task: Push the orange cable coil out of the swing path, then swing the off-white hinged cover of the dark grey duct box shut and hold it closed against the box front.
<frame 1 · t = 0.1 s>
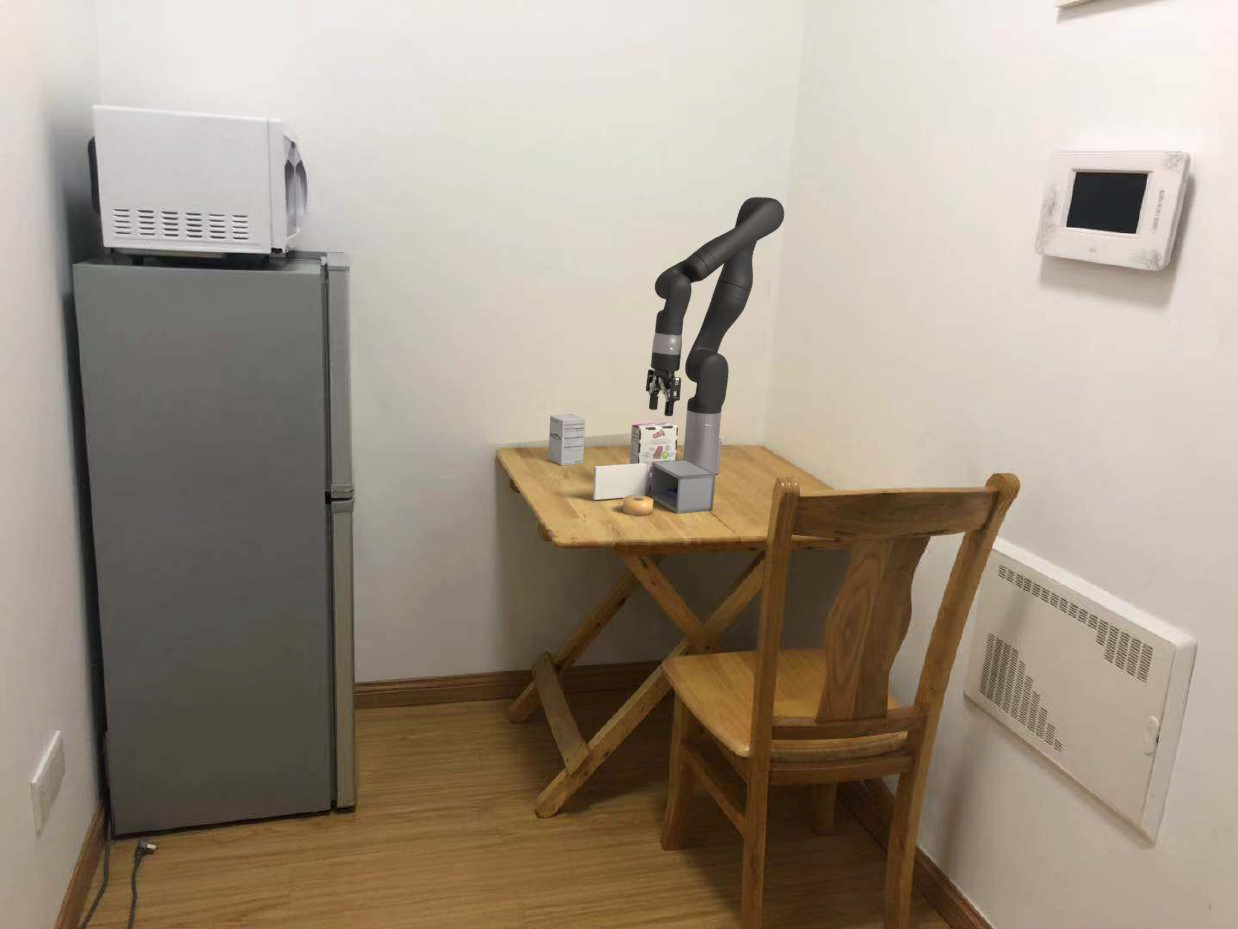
hand: (660, 412, 261), 17 cm above the table, tool pointing down, fingers open, 8 cm apart
cable coil: (637, 511, 232), on the table
duct box: (680, 503, 241), on the table
candy bar box: (651, 488, 254), on the table
cover: (622, 482, 241), point 4 cm above the table, hinge at 0.0°
supplement box: (565, 462, 275), on the table
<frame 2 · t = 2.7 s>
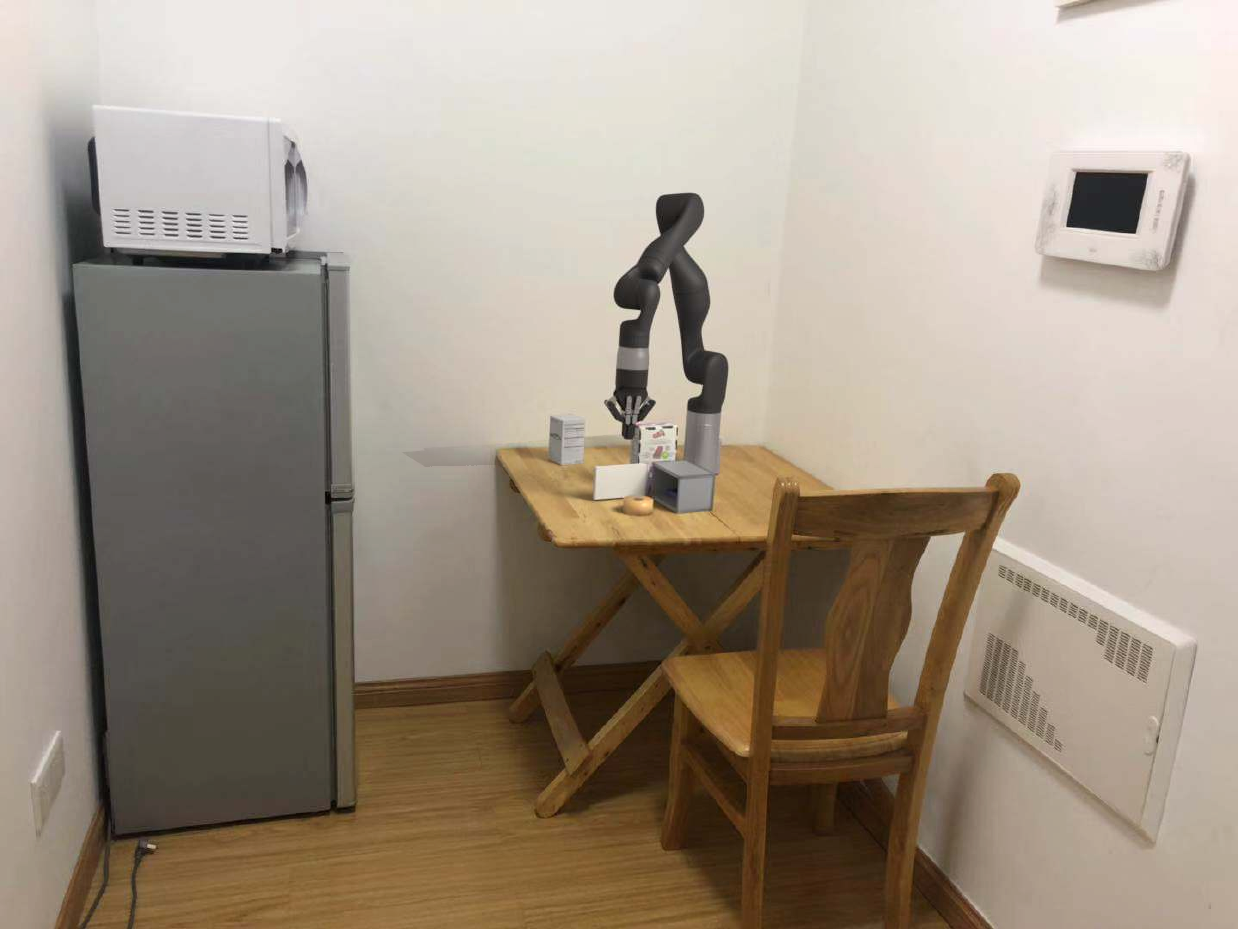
hand: (627, 438, 235), 16 cm above the table, tool pointing down, fingers closed
nothing on the table moved.
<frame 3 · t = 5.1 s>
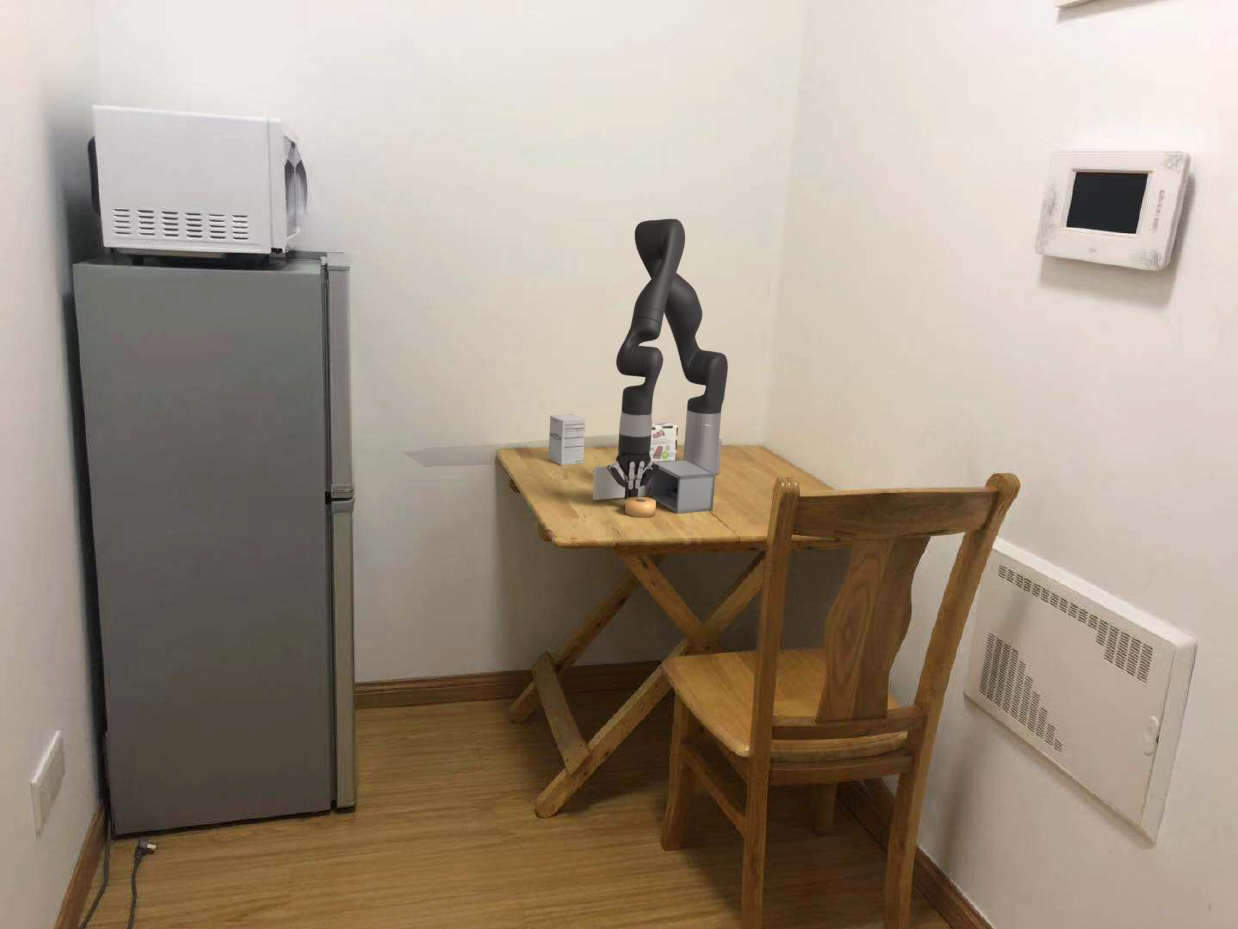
hand: (630, 503, 235), 1 cm above the table, tool pointing down, fingers closed
cable coil: (640, 513, 231), on the table
everything else where it was.
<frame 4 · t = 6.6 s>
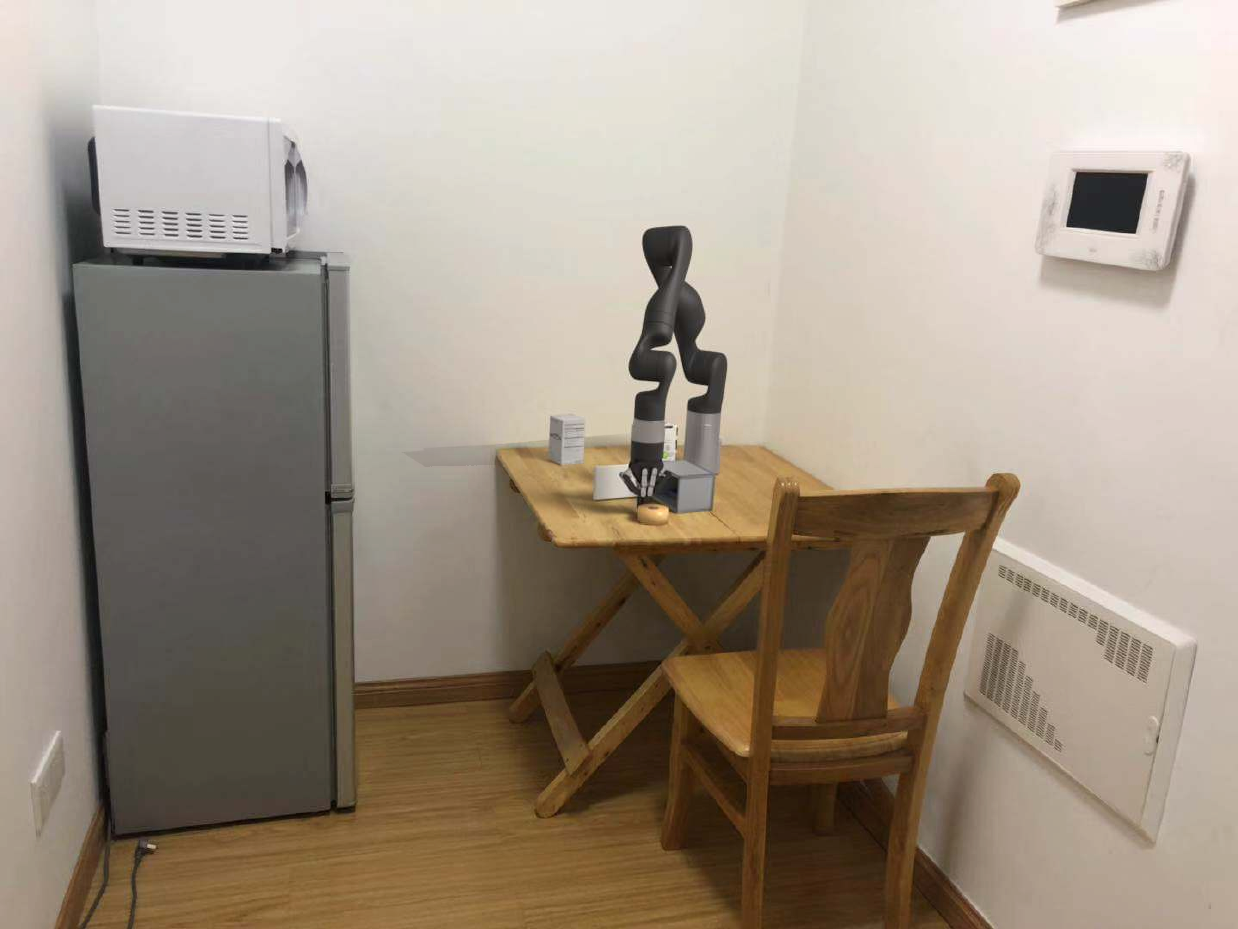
hand: (643, 510, 230), 1 cm above the table, tool pointing down, fingers closed
cable coil: (652, 520, 226), on the table, touching gripper
everything else where it was.
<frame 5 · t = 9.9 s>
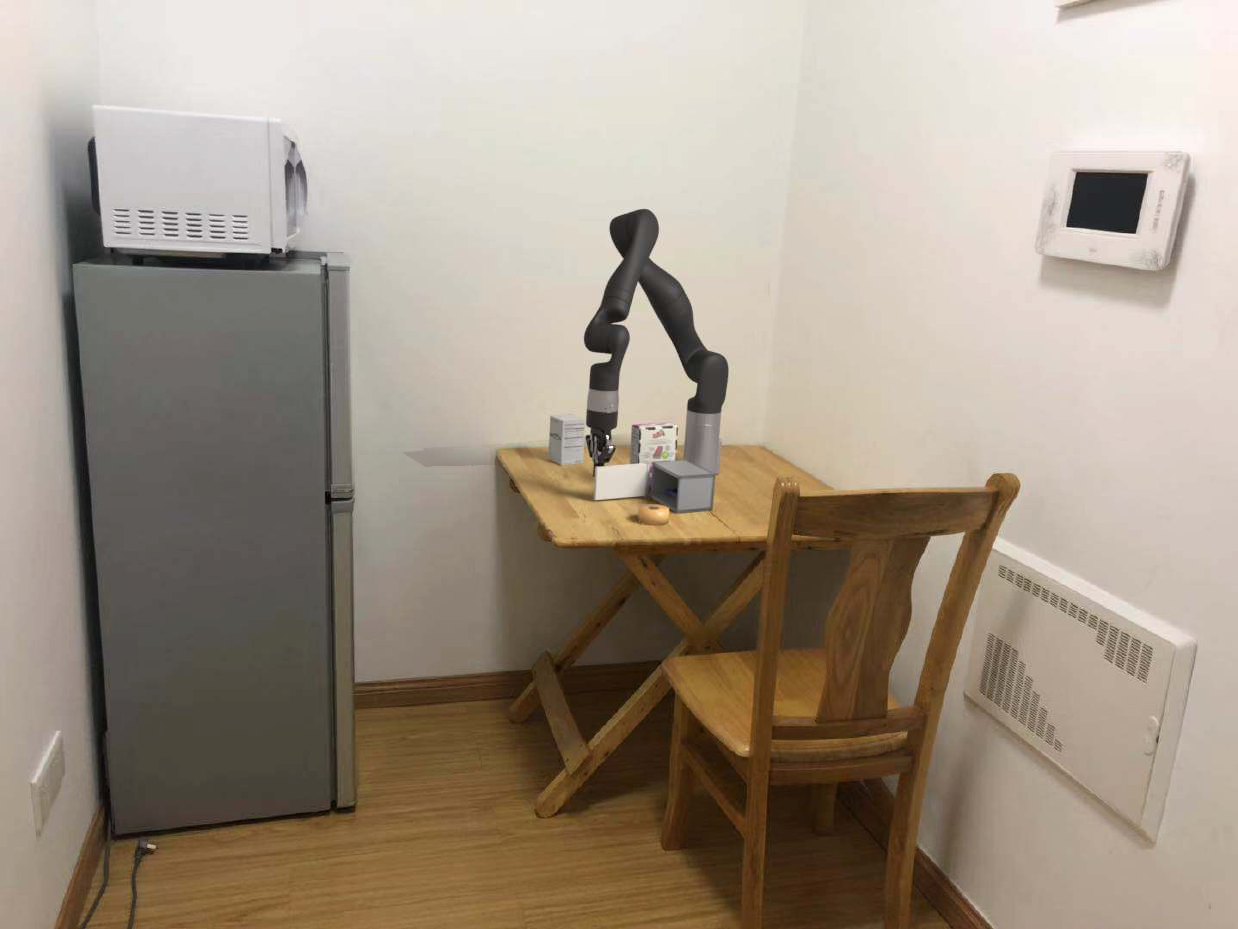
hand: (598, 477, 241), 5 cm above the table, tool pointing down, fingers closed
cable coil: (653, 521, 226), on the table
cover: (622, 482, 241), point 4 cm above the table, hinge at 1.5°, touching gripper
everything else where it was.
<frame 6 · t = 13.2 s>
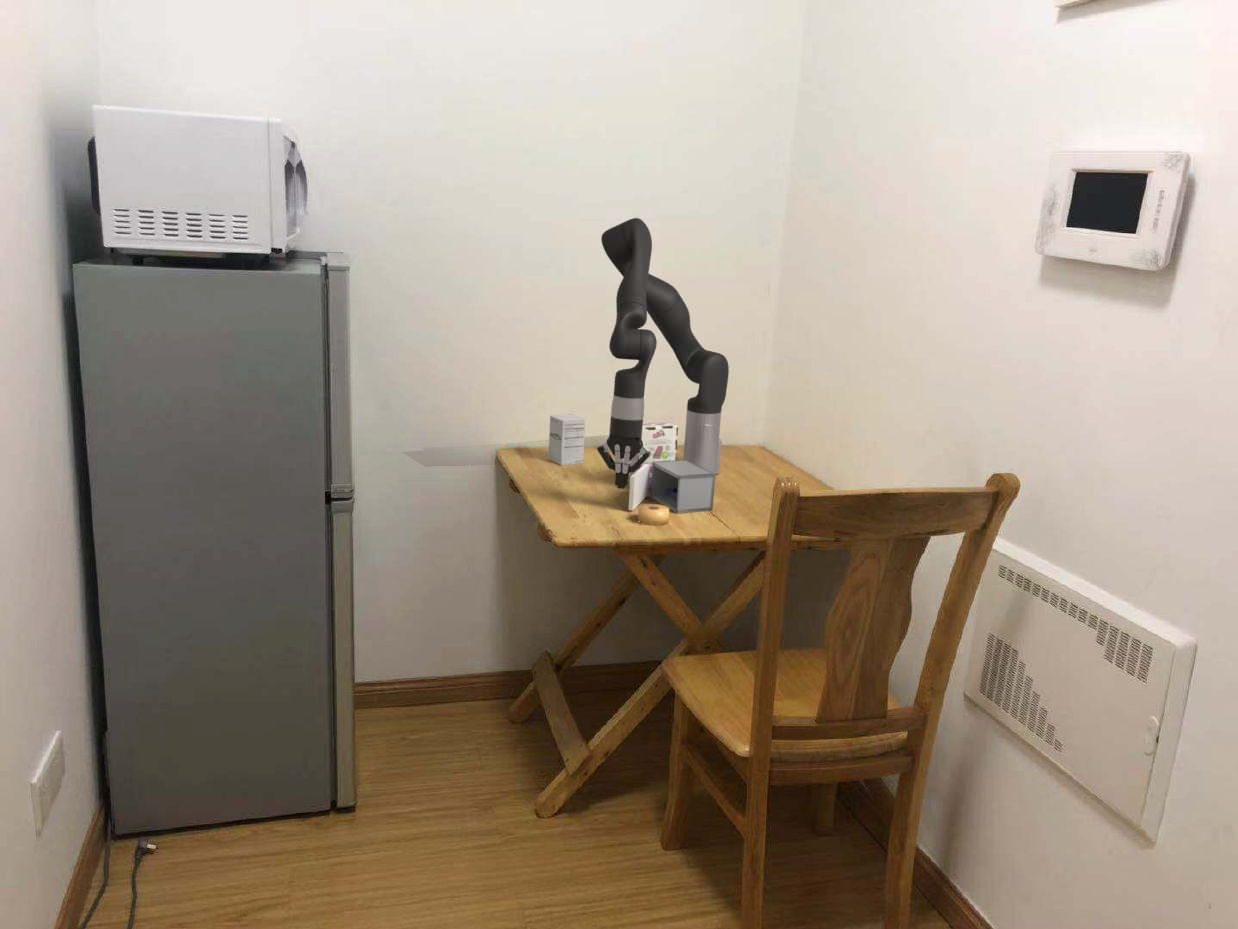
hand: (621, 487, 233), 5 cm above the table, tool pointing down, fingers closed
cover: (639, 486, 237), point 4 cm above the table, hinge at 48.3°, touching gripper
everything else where it was.
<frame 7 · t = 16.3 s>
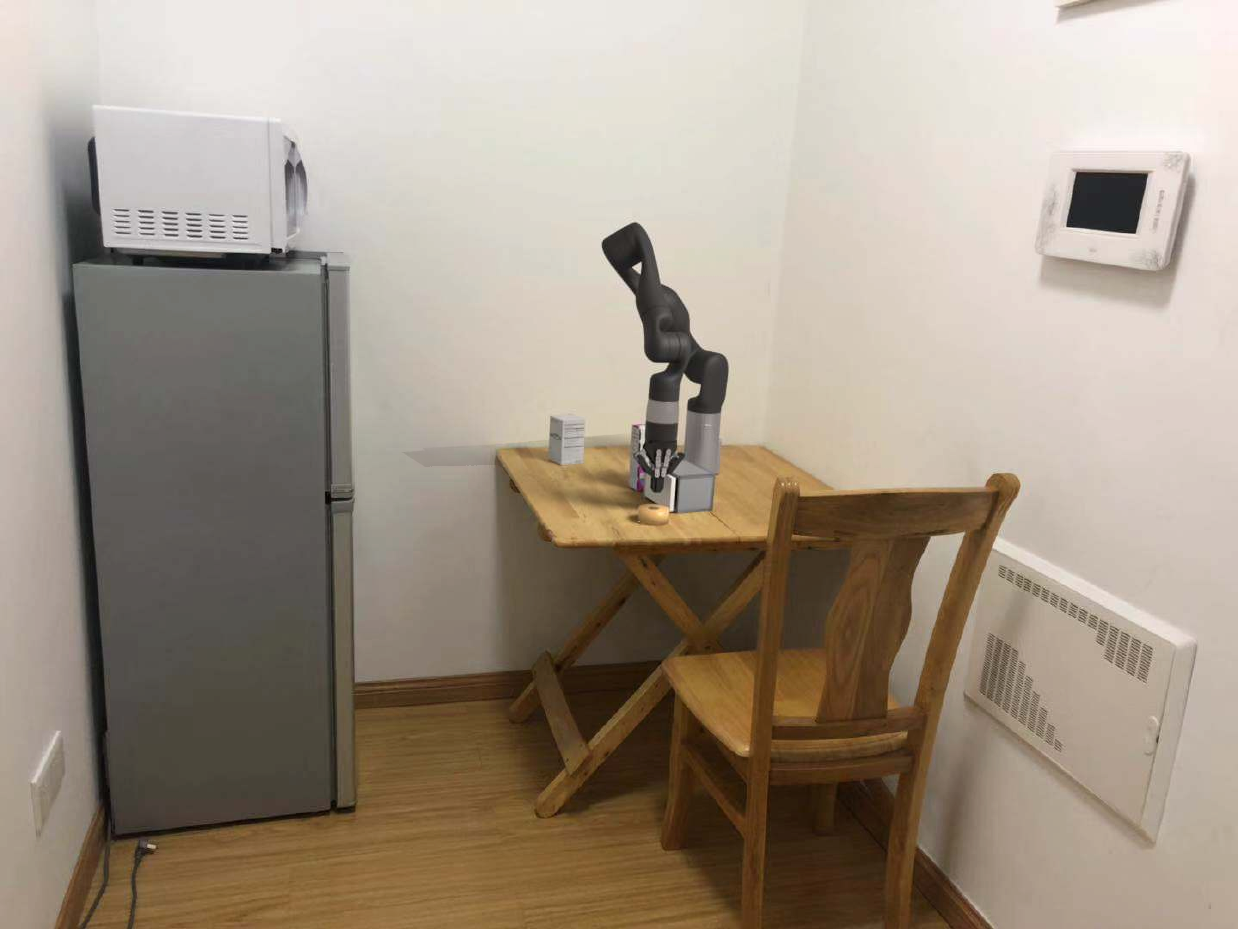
hand: (656, 491, 232), 5 cm above the table, tool pointing down, fingers closed
cover: (658, 487, 238), point 4 cm above the table, hinge at 88.3°, touching gripper
everything else where it was.
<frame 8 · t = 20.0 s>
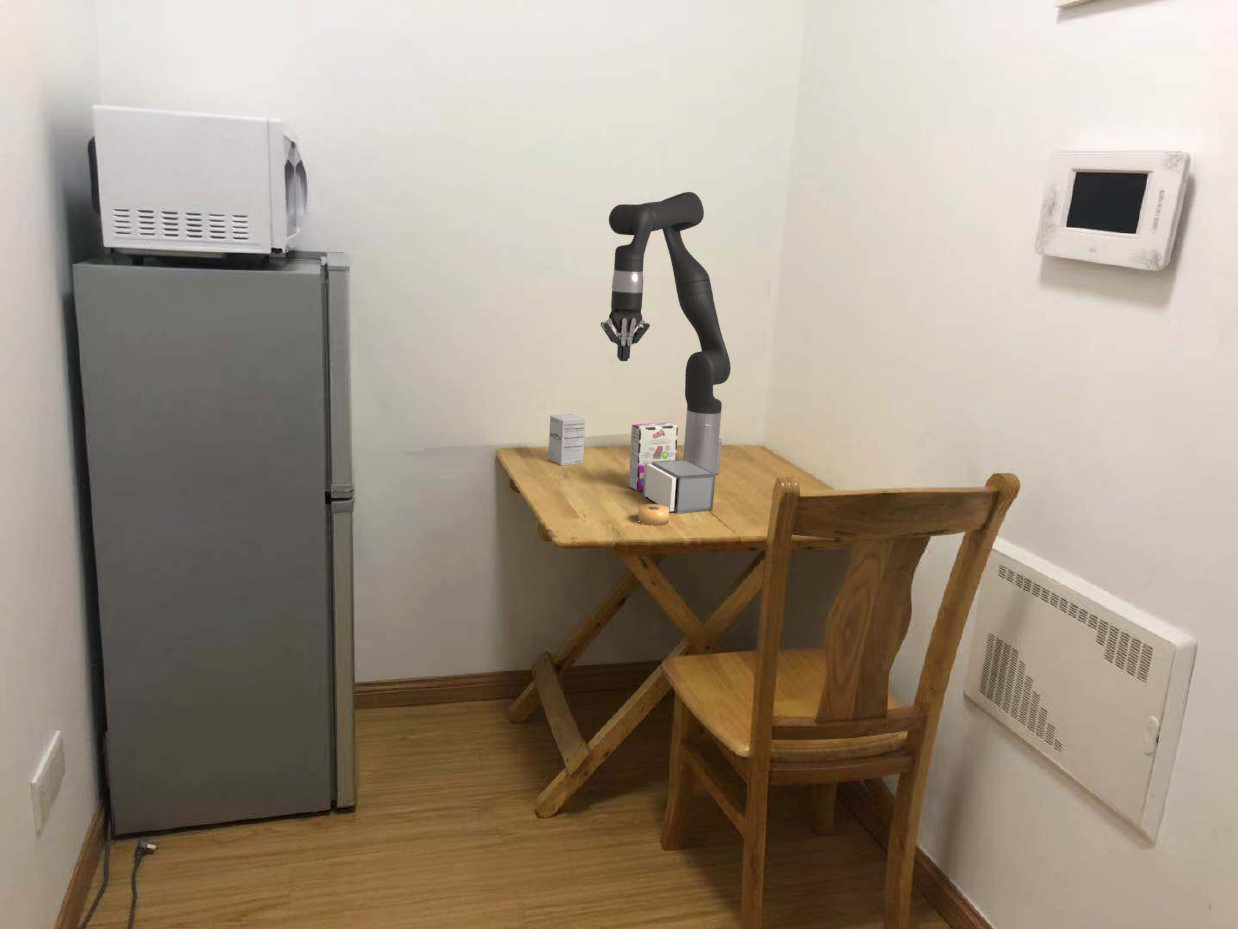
hand: (623, 360, 246), 32 cm above the table, tool pointing down, fingers closed
cover: (658, 487, 238), point 4 cm above the table, hinge at 88.7°
everything else where it was.
at the end: cover at +89° (first picture: +0°); cable coil moved 7.5 cm from its start; cable coil touching table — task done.
